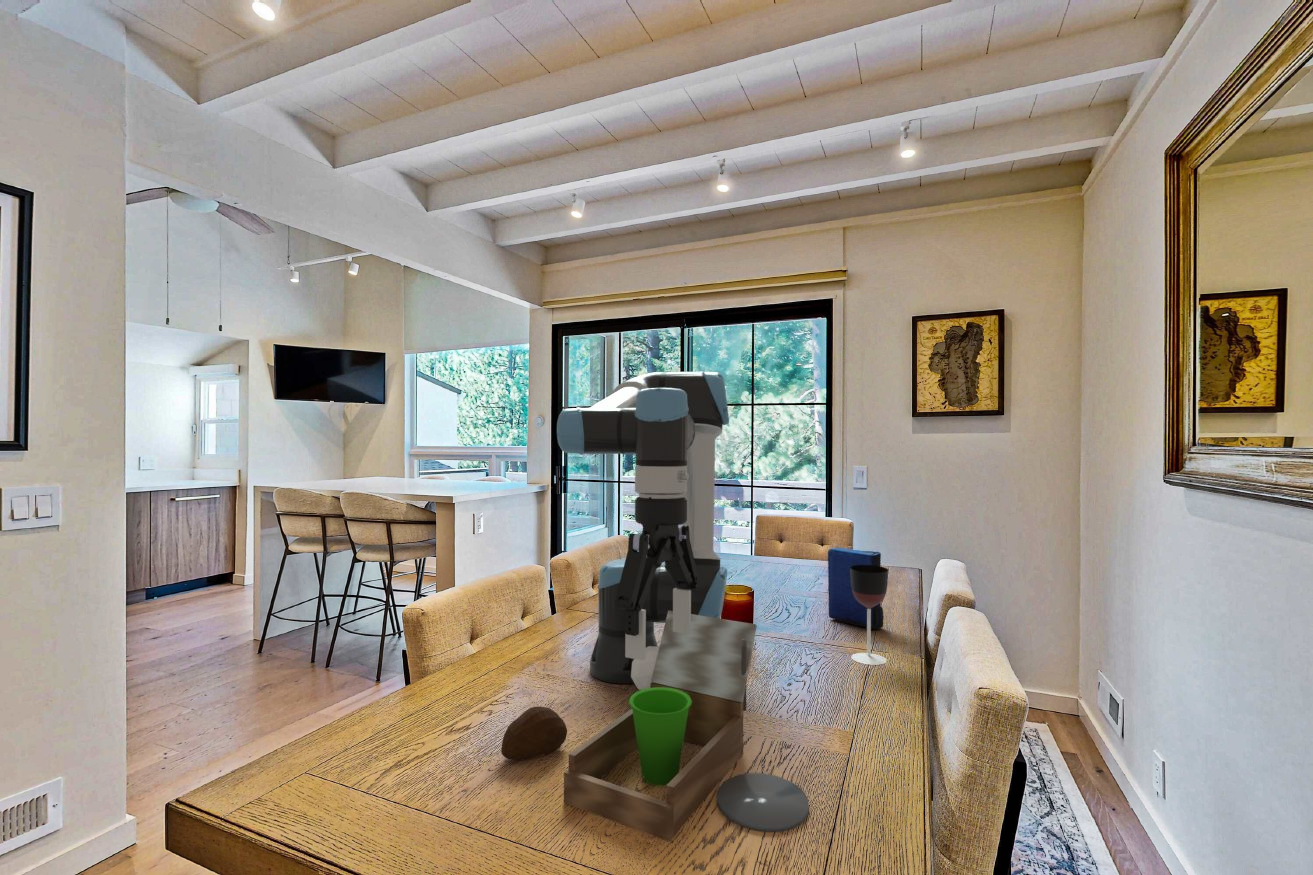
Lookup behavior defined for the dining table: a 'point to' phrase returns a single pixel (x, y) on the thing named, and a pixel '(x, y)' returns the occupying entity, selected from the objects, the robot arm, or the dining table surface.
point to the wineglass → (869, 601)
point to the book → (840, 588)
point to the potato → (534, 734)
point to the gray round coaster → (762, 802)
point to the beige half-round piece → (644, 668)
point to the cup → (660, 731)
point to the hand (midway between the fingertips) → (660, 644)
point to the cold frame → (717, 688)
